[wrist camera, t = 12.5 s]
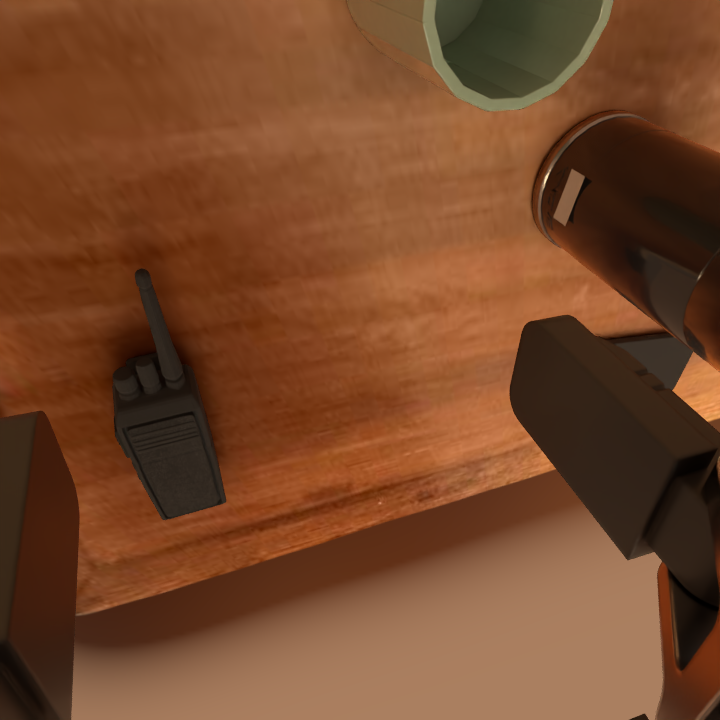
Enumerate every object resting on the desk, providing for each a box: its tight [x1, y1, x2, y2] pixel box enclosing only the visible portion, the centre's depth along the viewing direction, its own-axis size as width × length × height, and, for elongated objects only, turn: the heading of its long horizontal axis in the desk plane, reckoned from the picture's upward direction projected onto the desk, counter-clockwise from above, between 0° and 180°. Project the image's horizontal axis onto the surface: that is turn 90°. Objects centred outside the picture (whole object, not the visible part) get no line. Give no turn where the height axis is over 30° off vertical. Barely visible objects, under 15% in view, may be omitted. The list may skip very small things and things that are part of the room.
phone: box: [607, 333, 693, 390], centre depth 54 cm, size 7×1×15 cm
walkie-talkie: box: [112, 268, 226, 520], centre depth 37 cm, size 6×6×20 cm
